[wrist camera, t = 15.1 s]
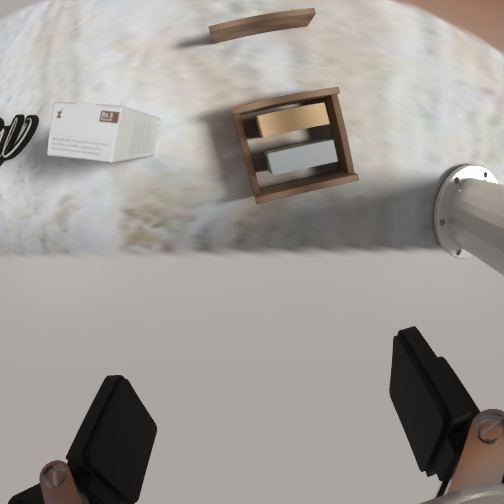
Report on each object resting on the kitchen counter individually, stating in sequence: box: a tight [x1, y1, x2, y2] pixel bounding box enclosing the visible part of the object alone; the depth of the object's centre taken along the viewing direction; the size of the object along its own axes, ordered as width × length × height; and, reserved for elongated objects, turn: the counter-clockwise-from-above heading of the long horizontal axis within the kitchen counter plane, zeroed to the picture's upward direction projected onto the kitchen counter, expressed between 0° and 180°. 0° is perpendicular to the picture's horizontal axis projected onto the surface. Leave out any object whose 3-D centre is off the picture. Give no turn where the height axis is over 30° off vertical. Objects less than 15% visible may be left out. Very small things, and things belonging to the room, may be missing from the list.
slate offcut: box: [264, 139, 338, 176], centre depth 28 cm, size 6×2×5 cm, turn 104°
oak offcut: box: [255, 103, 329, 138], centre depth 27 cm, size 6×2×5 cm, turn 104°
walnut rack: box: [209, 8, 359, 204], centre depth 27 cm, size 10×18×4 cm, turn 14°
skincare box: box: [47, 102, 161, 163], centre depth 23 cm, size 6×4×12 cm
